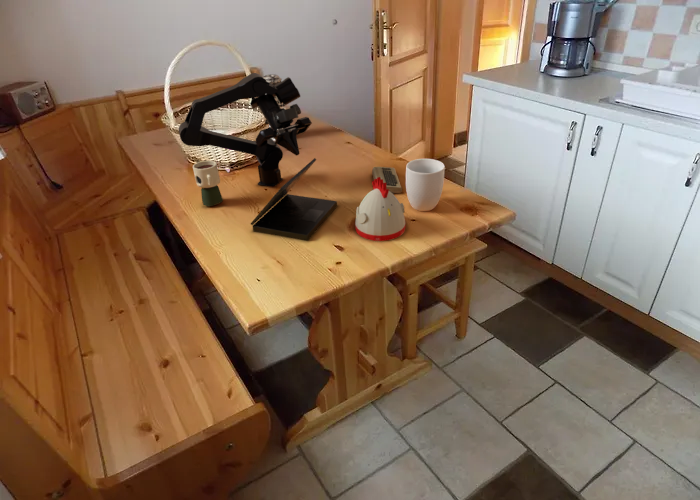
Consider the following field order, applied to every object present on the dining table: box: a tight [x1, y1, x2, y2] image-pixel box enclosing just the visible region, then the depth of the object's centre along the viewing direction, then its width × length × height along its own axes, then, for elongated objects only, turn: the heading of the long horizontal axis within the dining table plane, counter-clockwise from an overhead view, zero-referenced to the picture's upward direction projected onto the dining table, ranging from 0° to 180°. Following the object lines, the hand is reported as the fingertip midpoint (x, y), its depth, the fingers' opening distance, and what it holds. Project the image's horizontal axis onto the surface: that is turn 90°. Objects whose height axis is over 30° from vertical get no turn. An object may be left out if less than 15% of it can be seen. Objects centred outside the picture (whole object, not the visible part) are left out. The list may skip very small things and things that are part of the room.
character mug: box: [192, 159, 224, 207], centre depth 145 cm, size 11×7×13 cm, turn 25°
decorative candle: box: [262, 73, 287, 142], centre depth 192 cm, size 9×9×25 cm
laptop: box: [251, 193, 338, 242], centre depth 138 cm, size 17×21×2 cm
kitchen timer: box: [354, 177, 406, 242], centre depth 128 cm, size 14×14×15 cm
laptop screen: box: [250, 157, 317, 226], centre depth 135 cm, size 17×21×1 cm
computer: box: [371, 166, 403, 194], centre depth 155 cm, size 16×8×3 cm, turn 3°
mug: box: [405, 158, 446, 212], centre depth 140 cm, size 15×11×13 cm
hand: (298, 154), depth 146 cm, fingers closed
